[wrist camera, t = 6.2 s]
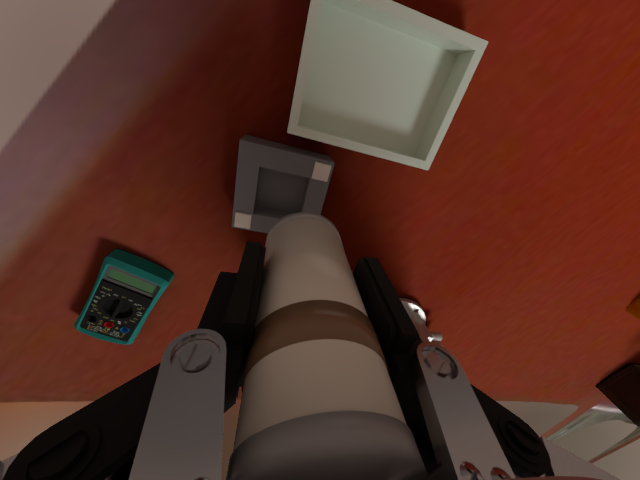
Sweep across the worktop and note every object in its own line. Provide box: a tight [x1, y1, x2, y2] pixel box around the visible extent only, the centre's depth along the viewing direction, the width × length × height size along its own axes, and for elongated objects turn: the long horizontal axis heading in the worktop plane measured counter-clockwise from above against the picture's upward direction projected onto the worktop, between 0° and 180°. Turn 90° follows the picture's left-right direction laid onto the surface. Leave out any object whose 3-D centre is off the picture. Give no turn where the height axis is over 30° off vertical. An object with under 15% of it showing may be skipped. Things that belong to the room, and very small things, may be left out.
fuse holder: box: [232, 135, 335, 233], centre depth 26 cm, size 9×9×4 cm
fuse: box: [226, 212, 427, 480], centre depth 9 cm, size 4×4×9 cm
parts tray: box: [287, 0, 488, 170], centre depth 22 cm, size 15×11×3 cm
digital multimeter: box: [74, 249, 174, 344], centre depth 32 cm, size 7×15×3 cm, turn 141°
